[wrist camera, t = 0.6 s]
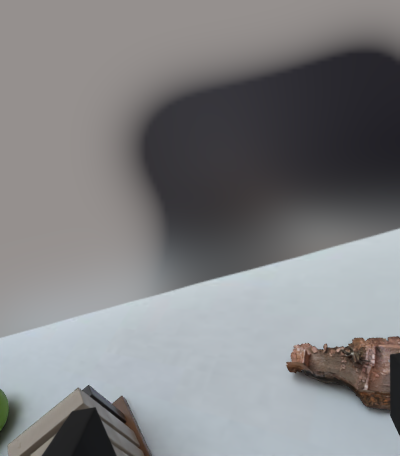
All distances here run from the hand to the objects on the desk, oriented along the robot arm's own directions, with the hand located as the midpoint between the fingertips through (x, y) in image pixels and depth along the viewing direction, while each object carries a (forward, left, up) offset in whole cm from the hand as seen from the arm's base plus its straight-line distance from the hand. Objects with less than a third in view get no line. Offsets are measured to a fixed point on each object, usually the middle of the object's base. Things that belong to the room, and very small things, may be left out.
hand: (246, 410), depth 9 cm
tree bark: (+6, -10, -19) cm, 23 cm away
